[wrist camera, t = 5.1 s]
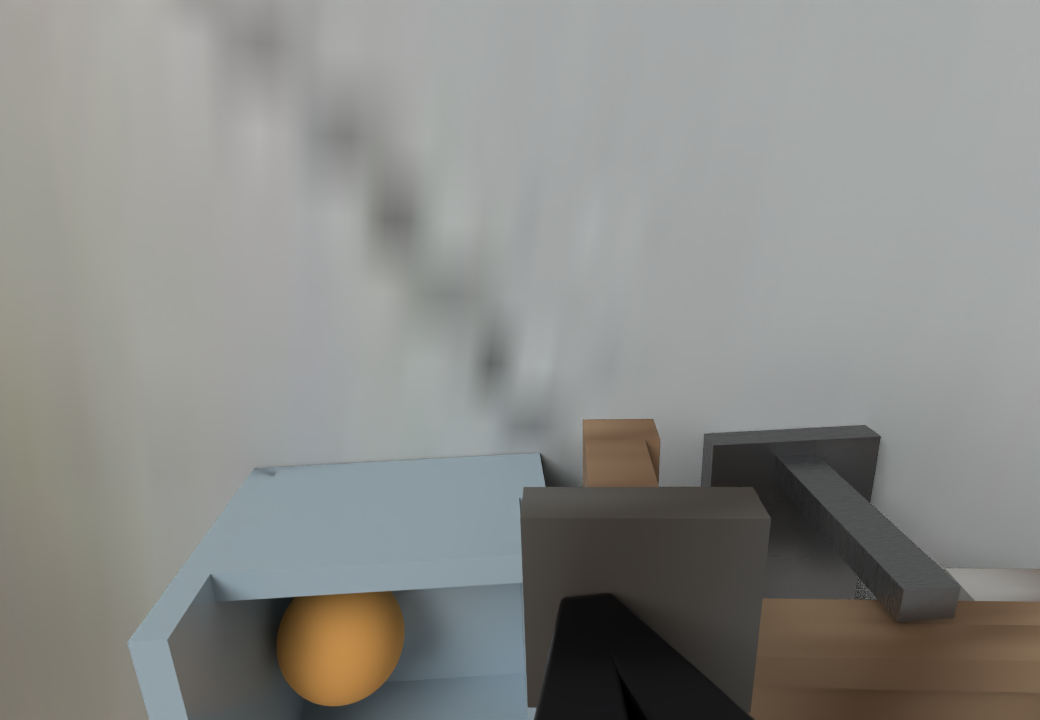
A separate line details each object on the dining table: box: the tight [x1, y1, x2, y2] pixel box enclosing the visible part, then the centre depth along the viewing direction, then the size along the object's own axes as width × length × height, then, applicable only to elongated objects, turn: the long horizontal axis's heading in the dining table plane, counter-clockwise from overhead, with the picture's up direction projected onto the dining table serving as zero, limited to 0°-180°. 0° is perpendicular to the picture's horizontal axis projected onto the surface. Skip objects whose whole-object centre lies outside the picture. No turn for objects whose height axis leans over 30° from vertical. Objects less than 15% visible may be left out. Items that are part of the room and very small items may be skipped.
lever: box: [520, 419, 1040, 720], centre depth 13 cm, size 15×11×7 cm
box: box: [127, 453, 545, 720], centre depth 17 cm, size 8×8×7 cm
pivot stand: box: [701, 425, 961, 622], centre depth 17 cm, size 5×9×7 cm, turn 2°
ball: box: [276, 591, 405, 706], centre depth 18 cm, size 4×4×4 cm
